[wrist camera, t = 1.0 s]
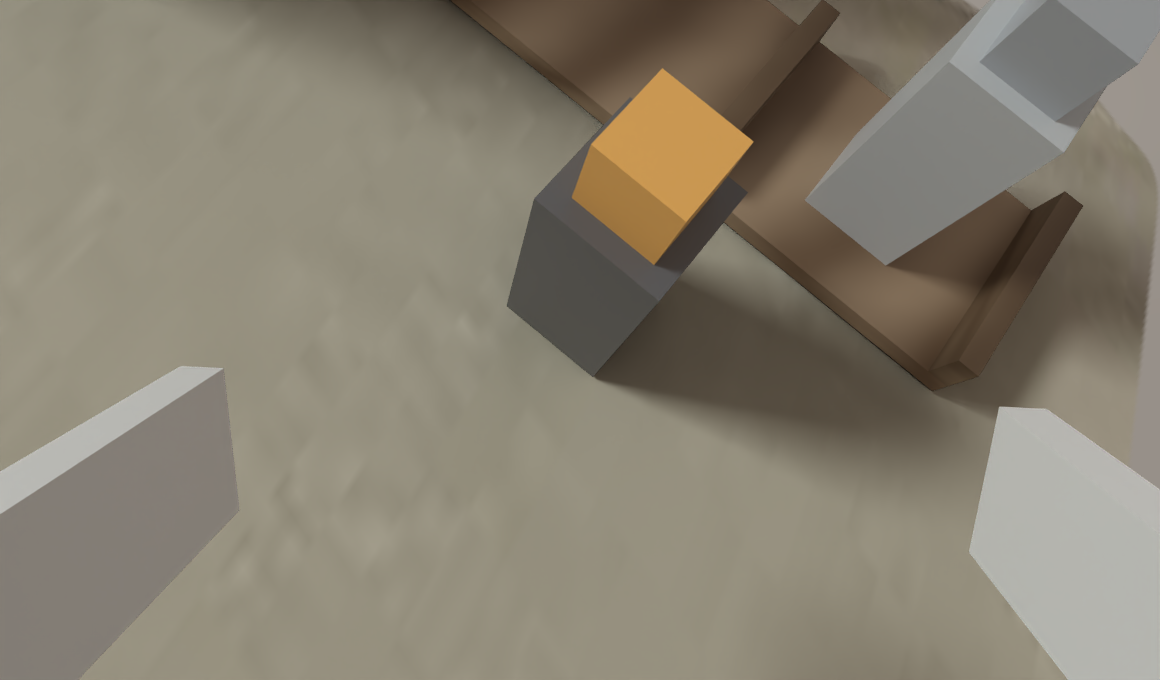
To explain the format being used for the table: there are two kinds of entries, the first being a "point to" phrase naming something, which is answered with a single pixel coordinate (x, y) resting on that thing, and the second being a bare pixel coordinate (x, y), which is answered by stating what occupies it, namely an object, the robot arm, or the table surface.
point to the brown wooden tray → (798, 162)
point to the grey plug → (981, 116)
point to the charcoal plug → (626, 220)
